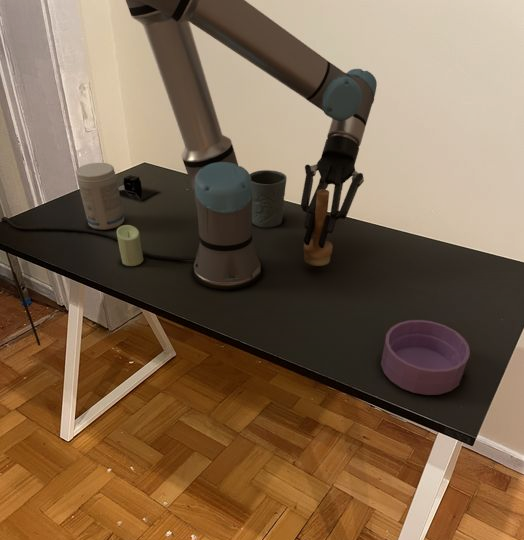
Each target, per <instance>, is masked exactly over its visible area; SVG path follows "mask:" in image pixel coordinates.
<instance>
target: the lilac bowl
mask: <svg viewBox="0 0 524 540" xmlns="http://www.w3.org/2000/svg"><path fill="white" fill-rule="evenodd" d="M470 356H471V352H470V346H469V343H468V342H467V340H466V338H464V337H463V336H462V335H461V334H460V333H459V332H458V331H456V330H454V329H453V328H451V327H449V326H448V325H445V324H442V323H439V322H435V321H432V320H425V319H410V320H405V321H401V322H398V323H396V324H395V325H393V326H392V327H390V328H389V329H388V331H387V333H386V334H385V338H384V343H383V348H382V353H381V360H380V366H381V369H382V371H383V374H384V375H385V376H386V377H387V378H388V380H389V381H390V382H391V383H393V384H395V385H396V386H397V387H399V388H401V389H403V390H405V391H408V392H410V393H414V394H418V395H425V396H432V395H433V396H437V395H442V394H446V393H449V392H452V391H453V390H454V389H456V388H457V387H458V386H460V383H461V381H462V379H463V378H464V377H463V376H464V373H465V370H466V367H467V365H468V362H469V359H470Z"/></svg>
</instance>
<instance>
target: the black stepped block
mask: <svg viewBox="0 0 524 540" xmlns="http://www.w3.org/2000/svg"><path fill="white" fill-rule="evenodd" d="M140 179H141V178H140V176H135V175H131V174H129V175H127V176H125V177H123V181H122V183H123V184H122V185H120V186H118V189H119V194H120V197H125V198H129V199H132V200H136V201H139V202H143V201H145V200H147V199H149V198H151V197H153V196H155V195H157V194H158V191H155V190H152V189H148V188H144V187H142V181H141V180H140Z"/></svg>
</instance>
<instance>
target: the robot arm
mask: <svg viewBox="0 0 524 540" xmlns="http://www.w3.org/2000/svg"><path fill="white" fill-rule="evenodd" d="M125 3H126V6H127V8H128V11H129V13H130V16H131V18H132V19H133V20H135V21H136V22H138V23H139V24H141V25H142V27H143V29H144V32H145V35H146V38H147V41H148V43H149V46H150V49H151V52H152V55H153V59H154V61H155V64H156V67H157V70H158V73H159V75H160V79H161V81H162V84H163V87H164V90H165V93H166V95H167V98H168V101H169V105H170V106H171V110H172V113H173V116H174V118H175V121H176V124H177V127H178V130H179V133H180V136H181V139H182V142H183V144H184V148H183V150H182V153H181V159H182V163H183V165H184V167H185V171H186V173H187V175H188V179H189V181H190V184H191V185H190V186H191V188H192V192H193V196H194V201H195V206H196V211H197V224H198V225H197V226H198V237H199V245H198V248H197V251H196V256H168V255H167V256H166V255H158V254H153V253H148V252H146V251H143V250H142V254H143V256H145V257H149V258H153V259H159V260H167V261H168V260H169V261H194V263H193V275H194V278H195V279H196V281H197V282H198V283H199V284H201V285H202V286H204V287H207V288H210V289H214V290H222V291H231V290H238V289H242V288H246V287H248V286H250V285H252V284H254V283H255V282H256V281H257V280H258V279H259V278H260V276H261V267H262V266H261V261H260V258H259V256H258V254H257V250H256V247H255V244H254V242H253V223H252V194H253V186H252V182H251V177H250V174H251V173H249V172H248V170H247V169H246V168H245V167H243V166H241V165H239V162H238V159H237V156H236V152H235V149H234V145H233V142H232V139H231V138H230V137H228V136H226V135H224V134H223V132H222V128H221V126H220V122H219V118H218V114H217V111H216V108H215V105H214V101H213V98H212V95H211V91H210V88H209V84H208V81H207V77H206V74H205V71H204V68H203V64H202V60H201V57H200V54H199V51H198V48H197V43H196V40H195V37H194V34H193V31H192V26H191V24H192V25H193V26H195V27H196V28H198V29H199V30H200V31H202V32H204V33H206V34H207V35H209V36H210V37H211V38H213V39H215V40H216V41H218V42H219V43H221V44H222V45H224V46H225V47H227V48H228V49H229V50H231V51H233V52H234V53H235V54H237V55H239V56H240V57H241V58H242V59H245V60H246V61H247V62H249V63H251V64H252V65H254V66H255V67H257V68H259V69H260V70H261V71H263V72H264V73H266V74H267V75H269V76H270V77H272V78H273V79H275V80H276V81H278V82H279V83H281V84H282V85H284V86H285V87H287V88H289V89H290V90H291V91H293V92H294V93H296V94H298V95H299V96H301V97H302V98H303V99H305V100H306V101H307V102H308V103H310V104H312V105H313V106H315V107H316V108H318V109H320V110H321V111H322V112H323V113H324V115H326V116H327V117H329V118H330V119H331V122H330V126H329V129H328V132H327V135H326V140H325V143H324V145H323V149H322V153H321V157H320V158H319V160H318V161H317V163H315V164H313V165H310V164H305V165H304V171H305V179H304V184H303V189H302V196H301V201H300V207H301V209H302V211H303V212H304V213H306V215H305V219H304V222H303V226H304V229H306V230H305V234H304V238H303V242H304V243H305V244H306V245H309V244H310V241H311V239H312V238H313V233H314V221H315V209H316V197H317V191H318V190H320V189H324V190H328V187H329V185H333V186H334V187H333V194H332V202H331V208H330V212H329V214H330V215H328V214H327V215H326V218H325V222H324V225H323V229H322V232H321V236H320V239H319V242H318V244H319V247H320V248H324V245H325V241H327V238H328V234H333V232H334V231H335V226H336V223H337V221H338V220H339V219H340V220H341V219H342V220H344V219H346V218H347V216H348V214H349V211H350V209H351V206H352V204H353V202H354V199H355V197H356V194H357V191H358V189H359V188H360V186H361V185H362V184H363V183H364V182H365V178H364V173H362V172H359V171H357V170H356V166H355V165H356V163H357V162H356V161H357V158H358V155H359V151H360V146H361V144H362V141H363V138H364V134H365V131H366V126H367V123H368V120H369V117H370V114H371V110H372V106H373V104H374V101H375V96H376V92H377V85H378V82H377V79H376V77H375V76H374V75H373V73H372V72H370V71H368V70H364V69H362V68H353V69H350V70H348V71H347V72H345V71H343V70H342V69H340V68H339V67H337V66H336V65H334V64H333V63H331V62H330V61H329V60H327V59H326V58H325V57H323V56H322V55H320V53H318V52H317V51H315V50H313V48H311V47H310V46H308V45H307V44H305V43H304V42H302V41H301V40H300V39H299V38H297V37H296V36H295V35H293V34H292V33H290V32H289V31H287V29H285V28H283V27H282V26H281V25H280V24H278V23H277V22H275V21H274V20H273V19H271V18H270V17H269V16H267V15H266V14H265V13H263V12H262V11H260V10H259V9H258V8H256V7H255V6H254V5H252V4H250V3H249V2H248V1H247V0H125ZM317 171H318V173H319V176H320V178H319V181H318V184H317V186H316V189H315V191H314V193H313V195H312V189H313V184H314V177H315V176H316V173H317ZM350 178H351V183H350V185H349V187H348V189H347V192H346V195H345V197H344V199H343V202H342V204H341V207H340V203H341V198H342V191H343V187H344V183H346V182H347V181H348V180H349V179H350ZM311 195H312V198H311ZM310 200H311V201H310ZM0 221H1V222H5V221H6V222H7V223H8V224H9V225H10V226H12V227H13V228H15V229H18V230H23V231H24V230H25V231H64V232H65V231H67V232H78V233H79V232H80V233H89V234H93V235H99V236H101V237H105V238H109V239H112V240H115V241H116V242H118V238H117V236H116V235H112V234H109V233H106V232H102V231H99V230H93V229H85V228H77V227H63V226H62V227H61V226H60V227H59V226H58V227H57V226H55V227H54V226H20V225H17V224H16V223H14V222H13V221H12V220H11V219H10V218H9V217H8V216H3V217H1V219H0ZM11 273H12V275H13V279H14V282H15V284H16V288H17V290H18V293H19V296H20V298H21V301H22V304H23V307H24V310H25V312H26V314H27V318H28V321H29V323H30V326H31V328H32V332H33V335H34V337H35V341H36V343H37V346H41V342H40V338H39V336H38V333H37V330H36V326H35V324H34V321H33V319H32V315H31V313H30V310H29V308H28V304H27V302H26V299H25V296H24V294H23V291H22V287H21V285H20V282H19V279H18V276H17V273H16V272H14V270H13V271H12V270H11Z"/></svg>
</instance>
